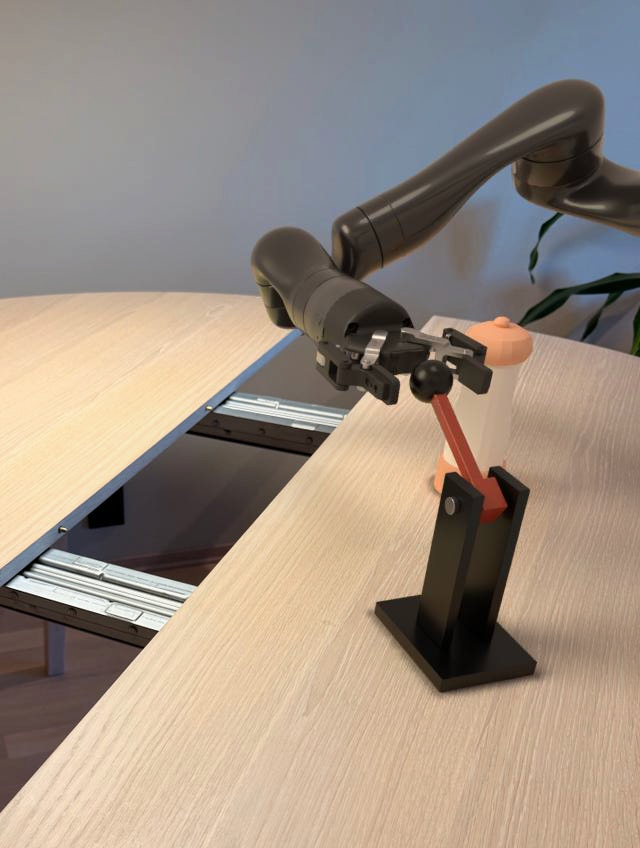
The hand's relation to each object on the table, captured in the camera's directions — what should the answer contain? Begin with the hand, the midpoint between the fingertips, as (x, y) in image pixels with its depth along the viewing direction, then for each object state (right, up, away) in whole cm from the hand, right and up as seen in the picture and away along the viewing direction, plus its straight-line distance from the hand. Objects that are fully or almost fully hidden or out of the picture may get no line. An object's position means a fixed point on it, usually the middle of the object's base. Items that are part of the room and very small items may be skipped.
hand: (441, 388), depth 82 cm
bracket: (+2, -21, +5) cm, 22 cm away
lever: (+1, -5, +1) cm, 5 cm away
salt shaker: (+11, -4, +29) cm, 31 cm away
